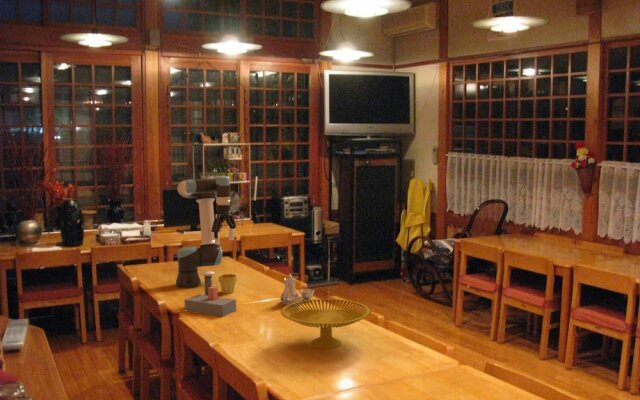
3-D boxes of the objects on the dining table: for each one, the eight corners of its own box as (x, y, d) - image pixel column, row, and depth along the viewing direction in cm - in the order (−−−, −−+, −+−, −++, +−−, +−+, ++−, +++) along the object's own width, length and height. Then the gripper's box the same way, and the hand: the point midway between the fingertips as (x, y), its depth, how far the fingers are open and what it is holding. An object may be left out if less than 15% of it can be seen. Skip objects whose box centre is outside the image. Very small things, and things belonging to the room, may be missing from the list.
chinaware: (301, 314, 340) (304, 283, 338) (271, 309, 344) (274, 278, 342) (315, 300, 367) (318, 271, 365) (287, 295, 371) (289, 267, 369)
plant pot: (238, 290, 385) (238, 273, 383) (234, 294, 374) (234, 277, 373) (221, 289, 386) (221, 273, 384) (217, 294, 375) (216, 277, 374)
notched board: (184, 311, 342) (184, 299, 341) (199, 305, 353) (198, 294, 352) (222, 316, 331) (222, 305, 330) (236, 310, 342) (235, 299, 341)
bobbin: (195, 304, 355) (194, 273, 353) (206, 299, 364) (206, 269, 362) (210, 306, 350) (209, 275, 348) (221, 301, 359) (220, 271, 357)
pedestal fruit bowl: (319, 323, 318) (319, 293, 317) (389, 340, 293) (389, 308, 291) (261, 345, 287) (260, 312, 286) (333, 366, 262) (333, 330, 260)
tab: (208, 310, 343) (208, 287, 342) (212, 308, 346) (212, 286, 345) (214, 311, 342) (213, 288, 340) (218, 309, 345) (217, 287, 343)
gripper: (215, 207, 349) (216, 246, 351) (241, 202, 371) (242, 239, 373) (204, 206, 352) (205, 245, 355) (230, 201, 374) (231, 238, 377)
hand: (224, 242), depth 364 cm, fingers open, 13 cm apart
